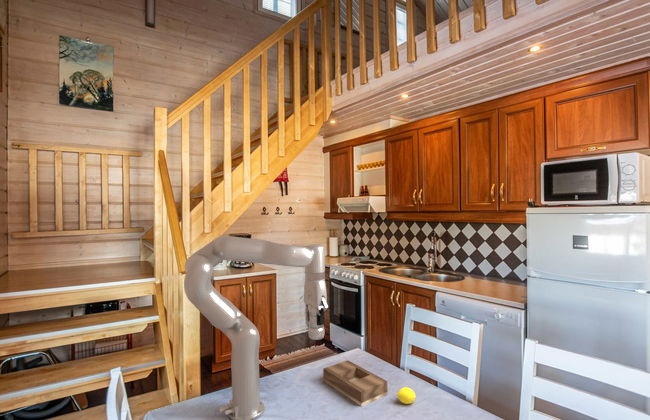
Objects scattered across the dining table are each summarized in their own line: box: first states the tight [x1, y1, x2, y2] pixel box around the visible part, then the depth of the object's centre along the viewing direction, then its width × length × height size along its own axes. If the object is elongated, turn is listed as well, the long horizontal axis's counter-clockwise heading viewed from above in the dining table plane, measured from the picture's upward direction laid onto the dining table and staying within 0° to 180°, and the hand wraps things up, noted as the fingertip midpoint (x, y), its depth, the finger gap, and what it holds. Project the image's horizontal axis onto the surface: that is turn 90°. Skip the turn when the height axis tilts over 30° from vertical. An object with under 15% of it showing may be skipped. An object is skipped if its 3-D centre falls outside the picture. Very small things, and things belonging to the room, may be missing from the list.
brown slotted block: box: [322, 359, 389, 407], centre depth 140 cm, size 13×24×5 cm, turn 35°
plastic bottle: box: [308, 300, 326, 341], centre depth 138 cm, size 6×7×20 cm
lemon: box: [396, 386, 417, 405], centre depth 128 cm, size 7×5×5 cm
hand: (316, 322), depth 138 cm, fingers closed on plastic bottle, 5 cm apart
